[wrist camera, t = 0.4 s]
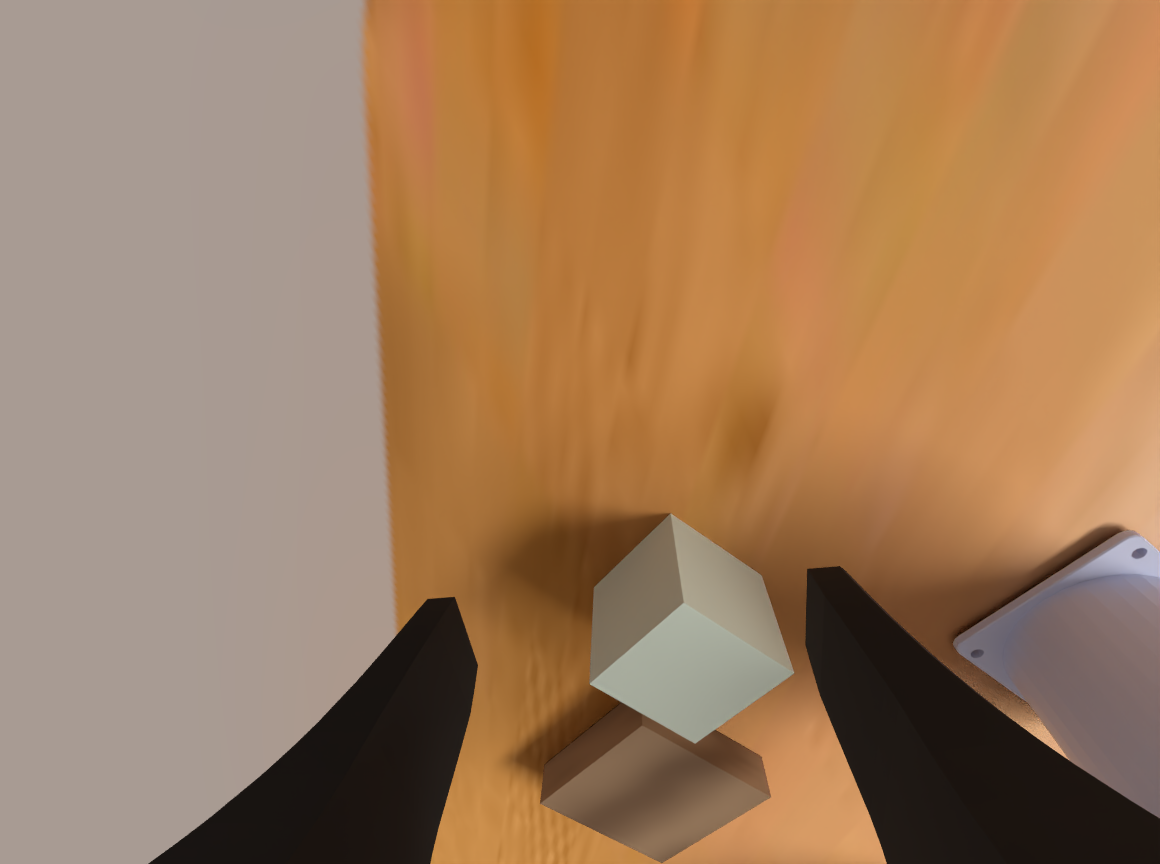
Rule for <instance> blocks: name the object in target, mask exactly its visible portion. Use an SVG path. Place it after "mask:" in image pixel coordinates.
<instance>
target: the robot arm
mask: <svg viewBox="0 0 1160 864" xmlns="http://www.w3.org/2000/svg"><path fill="white" fill-rule="evenodd" d="M953 646H954V647H955V649H956V650H957V652H958V653H959V654H960V655H962V656H963V657H964V658H966V659H967V660H969V661H970V662H971V663H973V664H974V665H975V666H977V667H978V668H980V669H981V670H982V671H984V672H985V673H987V674H988V675H989V676H991V677H992V678H994V679H995V680H996V681H998V682H999V683H1001V684H1002V685H1003V686H1005V687H1006V688H1008V689H1009V690H1010V691H1012V692H1013V693H1014V694H1016V695H1017V696H1019V697H1020V698H1021V699H1023V700H1024V701H1026V702H1027V703H1028V704H1029V705H1030V706H1031V708H1032V709H1033V711H1034V712H1035V713H1036V715H1037V716H1038V717H1039V719H1040V720H1041V722H1042V723H1043V724H1044V726H1045V727H1046V728H1047V730H1048V731H1049V733H1050V734H1051V735H1052V737H1053V738H1054V739H1055V741H1056V742H1057V744H1058V745H1059V746H1060V748H1061V749H1062V750H1063V752H1064V753H1065V755H1066V756H1067V757H1068V759H1069V760H1070V761H1069V760H1068V759H1066V758H1065V757H1063V756H1062V755H1060V754H1059V753H1057V752H1056V751H1055V750H1053V749H1052V748H1050V747H1049V746H1047V745H1046V744H1044V743H1043V742H1042V741H1040V740H1039V739H1037V738H1036V737H1035V736H1033V735H1032V734H1031V733H1029V732H1028V731H1027V730H1025V729H1024V728H1022V727H1021V726H1020V725H1018V724H1017V723H1016V722H1014V721H1013V720H1012V719H1010V718H1009V717H1008V716H1006V715H1005V714H1004V713H1002V712H1001V711H1000V710H999V709H997V708H996V707H995V706H993V705H992V704H991V703H990V702H988V701H987V700H986V699H985V698H983V697H982V696H981V695H979V694H978V693H977V692H976V691H975V690H973V689H972V688H971V687H970V686H969V685H967V684H966V683H965V682H964V681H963V680H961V679H960V678H959V677H958V676H956V675H955V674H954V673H953V672H952V671H950V670H949V669H948V668H947V667H946V666H945V665H944V664H942V663H941V662H940V661H939V660H938V659H937V658H935V657H934V656H933V655H932V654H931V653H930V652H929V651H928V650H927V649H926V648H924V647H923V646H922V645H921V644H920V643H919V642H918V641H917V640H916V639H915V638H913V637H912V636H911V635H910V634H909V633H908V632H907V631H906V630H905V629H904V628H903V627H901V626H900V625H899V624H898V623H897V622H896V621H895V620H894V619H893V618H892V617H891V616H890V615H889V614H888V613H887V612H886V611H885V610H884V609H883V608H882V607H881V606H880V605H879V604H878V603H877V602H876V601H875V600H874V599H873V598H872V597H871V596H870V595H869V594H868V593H867V592H866V591H865V590H864V589H863V588H862V587H861V586H860V585H859V584H858V583H857V582H856V581H855V580H854V579H853V578H852V577H851V576H850V575H849V574H848V573H847V572H846V571H845V570H844V569H843V568H841V567H840V566H838V567H825V568H813V569H807V602H806V648H807V652H808V655H809V659H810V662H811V666H812V669H813V673H814V676H815V680H816V683H817V686H818V690H819V693H820V696H821V699H822V701H823V704H824V706H825V708H826V711H827V713H828V716H829V718H830V721H831V723H832V726H833V728H834V730H835V733H836V735H837V738H838V740H839V742H840V745H841V747H842V750H843V752H844V754H845V757H846V759H847V762H848V764H849V766H850V769H851V771H852V774H853V776H854V778H855V781H856V783H857V786H858V788H859V790H860V793H861V795H862V798H863V800H864V802H865V805H866V807H867V810H868V812H869V814H870V817H871V820H872V822H873V825H874V828H875V830H876V833H877V836H878V838H879V841H880V844H881V847H882V850H883V853H884V856H885V859H886V862H887V864H1160V552H1159V551H1158V550H1157V549H1156V548H1155V547H1154V546H1153V545H1152V544H1150V543H1149V542H1148V541H1147V540H1146V539H1145V538H1144V537H1142V536H1141V535H1140V534H1139V533H1137V532H1135V531H1131V530H1127V531H1122V532H1120V533H1118V534H1116V535H1114V536H1113V537H1111V538H1110V539H1108V540H1107V541H1105V542H1103V543H1102V544H1100V545H1099V546H1097V547H1096V548H1094V549H1093V550H1091V551H1089V552H1088V553H1086V554H1085V555H1083V556H1082V557H1080V558H1079V559H1077V560H1075V561H1074V562H1072V563H1071V564H1069V565H1068V566H1066V567H1065V568H1063V569H1061V570H1060V571H1058V572H1057V573H1055V574H1054V575H1052V576H1051V577H1049V578H1047V579H1046V580H1044V581H1043V582H1041V583H1040V584H1038V585H1037V586H1035V587H1033V588H1032V589H1030V590H1029V591H1027V592H1026V593H1024V594H1023V595H1021V596H1019V597H1018V598H1016V599H1015V600H1013V601H1012V602H1010V603H1009V604H1007V605H1005V606H1004V607H1002V608H1001V609H999V610H998V611H996V612H995V613H993V614H991V615H990V616H988V617H987V618H985V619H984V620H982V621H981V622H979V623H977V624H976V625H974V626H973V627H971V628H970V629H968V630H967V631H965V632H963V633H962V634H960V635H959V636H957V637H956V638H955V640H954V642H953ZM477 668H478V664H477V661H476V658H475V655H474V652H473V649H472V646H471V643H470V641H469V638H468V635H467V632H466V629H465V626H464V623H463V620H462V617H461V614H460V611H459V608H458V605H457V602H456V599H455V597H448V598H436V599H427V600H426V602H425V603H424V604H423V605H422V606H421V607H420V608H419V610H418V611H417V612H416V613H415V614H414V615H413V617H412V618H411V619H410V620H409V621H408V622H407V624H406V625H405V626H404V627H403V628H402V630H401V631H400V632H399V633H398V634H397V635H396V637H395V638H394V639H393V640H392V641H391V643H390V644H389V645H388V646H387V647H386V648H385V650H384V651H383V652H382V653H381V654H380V656H379V657H378V658H377V659H376V660H375V661H374V662H373V663H372V665H371V666H370V667H369V668H368V669H367V670H366V671H365V673H364V674H363V675H362V676H361V677H360V678H359V679H358V680H357V682H356V683H355V684H354V685H353V686H352V687H351V688H350V689H349V690H348V691H347V692H346V693H345V694H344V695H343V696H342V697H341V699H340V700H339V701H338V702H337V703H336V704H335V705H334V706H333V707H332V708H331V709H330V710H329V711H328V712H327V713H326V715H324V717H323V718H322V719H321V720H320V721H319V722H318V723H317V724H316V725H315V726H314V727H313V728H312V729H311V730H310V731H309V732H308V733H307V734H306V735H305V736H304V737H303V738H301V739H300V740H299V741H298V742H297V743H296V744H295V745H294V746H293V747H292V748H291V749H290V750H289V751H288V752H287V753H285V754H284V755H283V756H282V757H281V758H280V759H279V760H278V761H277V762H276V763H274V764H273V765H272V766H271V767H270V768H269V769H268V770H267V771H266V772H264V773H263V774H262V775H261V776H260V777H259V778H257V779H256V780H255V781H254V782H253V783H251V784H250V785H249V786H248V787H247V788H245V789H244V790H243V791H242V792H240V793H239V794H238V795H237V796H236V797H235V798H233V799H232V800H231V801H230V802H228V803H227V804H226V805H225V806H224V807H222V808H221V809H220V810H219V811H218V812H216V813H215V814H214V815H213V816H212V817H210V818H209V819H208V820H206V821H205V822H204V823H203V824H201V825H200V826H199V827H197V828H196V829H195V830H193V831H192V832H191V833H189V834H188V835H187V836H185V837H184V838H183V839H181V840H180V841H179V842H178V843H176V844H175V845H173V846H172V847H171V848H169V849H168V850H167V851H165V852H164V853H162V854H161V855H160V856H158V857H157V858H156V859H154V860H153V861H151V862H150V863H149V864H430V862H431V857H432V852H433V848H434V844H435V840H436V836H437V832H438V828H439V824H440V821H441V817H442V814H443V810H444V807H445V803H446V799H447V796H448V792H449V789H450V785H451V782H452V778H453V775H454V771H455V768H456V764H457V761H458V757H459V754H460V750H461V746H462V743H463V739H464V735H465V732H466V728H467V725H468V721H469V717H470V713H471V707H472V701H473V695H474V689H475V682H476V675H477Z"/></svg>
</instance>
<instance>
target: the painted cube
mask: <svg viewBox="0 0 1160 864" xmlns="http://www.w3.org/2000/svg"><path fill="white" fill-rule="evenodd" d="M793 674H794V671H793V668H792V665H791V662H790V659H789V656H788V653H787V650H786V647H785V644H784V641H783V638H782V635H781V632H780V629H779V626H778V623H777V620H776V617H775V614H774V611H773V608H772V605H771V602H770V599H769V596H768V593H767V590H766V587H765V584H764V581H763V578H762V575H760V574H759V573H757V572H756V571H754V570H753V569H752V568H750V567H749V566H747V565H746V564H744V563H743V562H741V561H740V560H738V559H737V558H735V557H734V556H732V555H731V554H730V553H728V552H727V551H725V550H724V549H722V548H721V547H719V546H718V545H716V544H715V543H713V542H712V541H711V540H709V539H708V538H706V537H705V536H703V535H702V534H700V533H699V532H697V531H696V530H694V529H693V528H691V527H690V526H689V525H687V524H686V523H684V522H683V521H681V520H680V519H678V518H677V517H675V516H674V515H672V514H671V513H670V514H669V515H668V516H667V517H666V518H665V519H664V520H663V521H662V522H661V523H660V524H659V525H658V526H657V527H656V528H655V529H654V530H653V531H652V532H651V533H650V534H649V535H648V536H647V537H645V538H644V539H643V540H642V541H641V542H640V543H639V544H638V545H637V546H636V547H635V548H634V549H633V550H632V551H631V552H630V553H629V554H628V555H627V556H626V557H625V558H624V559H623V560H622V561H621V562H620V563H619V564H617V565H616V566H615V567H614V568H613V569H612V570H611V571H610V572H609V573H608V574H607V575H606V576H605V577H604V578H603V579H602V580H601V581H600V582H599V583H598V584H597V585H596V586H595V587H594V596H593V618H592V639H591V661H590V682H589V684H590V685H592V686H594V687H596V688H597V689H599V690H601V691H603V692H605V693H606V694H608V695H610V696H612V697H613V698H615V699H617V700H619V701H620V702H622V703H624V704H626V705H628V706H629V707H631V708H633V709H635V710H636V711H638V712H640V713H642V714H643V715H645V716H647V717H649V718H651V719H652V720H654V721H656V722H658V723H659V724H661V725H663V726H665V727H666V728H668V729H670V730H672V731H674V732H675V733H677V734H679V735H681V736H682V737H684V738H686V739H688V740H689V741H691V742H693V743H697V742H698V741H700V740H701V739H702V738H704V737H705V736H707V735H708V734H709V733H711V732H712V731H714V730H715V729H716V728H718V727H719V726H721V725H722V724H724V723H725V722H726V721H728V720H729V719H731V718H732V717H733V716H735V715H736V714H738V713H739V712H740V711H742V710H743V709H745V708H746V707H748V706H749V705H750V704H752V703H753V702H755V701H756V700H757V699H759V698H760V697H762V696H763V695H765V694H766V693H767V692H769V691H770V690H772V689H773V688H774V687H776V686H777V685H779V684H780V683H781V682H783V681H784V680H786V679H787V678H789V677H790V676H791V675H793Z"/></svg>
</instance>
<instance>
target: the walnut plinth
mask: <svg viewBox="0 0 1160 864" xmlns="http://www.w3.org/2000/svg"><path fill="white" fill-rule="evenodd" d="M770 797H771V795H770V790H769V786H768V782H767V778H766V774H765V769H764V765H763V761H762V757H761V756H759V755H757V754H755V753H754V752H752V751H750V750H749V749H747V748H745V747H743V746H742V745H740V744H738V743H736V742H735V741H733V740H731V739H730V738H728V737H726V736H724V735H723V734H721V733H719V732H717V731H716V730H714V731H712V732H711V733H709V734H708V735H707V736H705V737H704V738H702V739H701V740H700V741H698V742H697V743H693V742H691V741H689V740H688V739H686V738H684V737H682V736H681V735H679V734H677V733H675V732H674V731H672V730H670V729H668V728H666V727H665V726H663V725H661V724H659V723H658V722H656V721H654V720H652V719H651V718H649V717H647V716H645V715H643V714H642V713H640V712H638V711H636V710H635V709H633V708H631V707H629V706H628V705H626V704H624V703H620V704H619V705H618V706H617V707H615V708H614V709H613V710H612V711H610V712H609V713H608V714H607V715H605V716H604V717H603V718H602V719H601V720H599V721H598V722H597V723H596V724H594V725H593V726H592V727H591V728H589V729H588V730H587V731H586V732H584V733H583V734H582V735H581V736H580V737H578V738H577V739H576V740H575V741H573V742H572V743H571V744H570V745H568V746H567V747H566V748H565V749H563V750H562V751H561V752H560V753H558V754H557V755H556V756H555V757H554V758H552V759H551V760H550V761H549V762H547V763H546V764H545V765H544V773H543V782H542V791H541V800H540V804H542V805H544V806H546V807H548V808H550V809H552V810H554V811H556V812H558V813H560V814H562V815H564V816H566V817H569V818H571V819H573V820H575V821H577V822H579V823H581V824H583V825H585V826H587V827H589V828H591V829H593V830H595V831H597V832H599V833H601V834H603V835H605V836H607V837H609V838H611V839H614V840H616V841H618V842H620V843H622V844H624V845H626V846H628V847H630V848H632V849H634V850H636V851H638V852H640V853H642V854H644V855H646V856H648V857H650V858H652V859H654V860H657V861H659V862H661V863H663V862H664V861H666V860H668V859H669V858H671V857H673V856H674V855H676V854H678V853H679V852H681V851H683V850H684V849H686V848H688V847H689V846H691V845H693V844H694V843H696V842H698V841H699V840H701V839H703V838H704V837H706V836H708V835H709V834H711V833H713V832H714V831H716V830H717V829H719V828H721V827H722V826H724V825H726V824H727V823H729V822H731V821H732V820H734V819H736V818H737V817H739V816H741V815H742V814H744V813H746V812H747V811H749V810H751V809H752V808H754V807H756V806H757V805H759V804H761V803H762V802H764V801H765V800H767V799H769V798H770Z"/></svg>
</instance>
